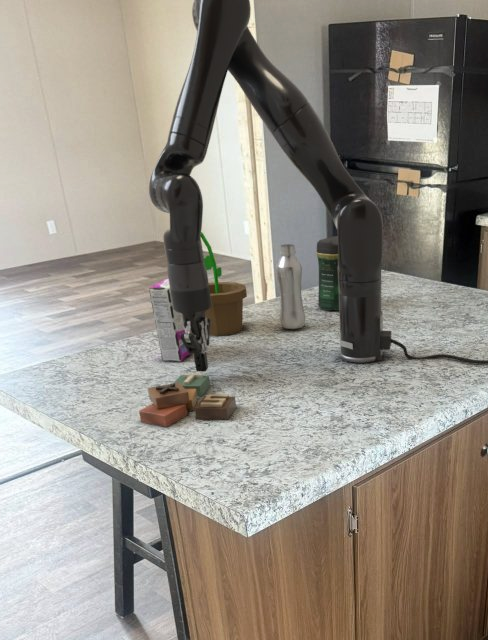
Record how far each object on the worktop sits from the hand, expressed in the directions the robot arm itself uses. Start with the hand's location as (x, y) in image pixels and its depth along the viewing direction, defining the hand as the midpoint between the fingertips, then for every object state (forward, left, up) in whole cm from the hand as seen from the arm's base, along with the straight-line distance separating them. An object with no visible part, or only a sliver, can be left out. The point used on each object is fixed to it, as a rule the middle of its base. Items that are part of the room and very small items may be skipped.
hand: (202, 370), depth 146 cm
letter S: (-8, +18, -2) cm, 20 cm away
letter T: (0, +7, -2) cm, 7 cm away
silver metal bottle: (-11, -38, -2) cm, 40 cm away
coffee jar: (-19, -59, -2) cm, 62 cm away
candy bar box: (+11, -16, -2) cm, 20 cm away
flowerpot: (+7, -36, -2) cm, 37 cm away
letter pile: (+1, +18, -2) cm, 18 cm away
